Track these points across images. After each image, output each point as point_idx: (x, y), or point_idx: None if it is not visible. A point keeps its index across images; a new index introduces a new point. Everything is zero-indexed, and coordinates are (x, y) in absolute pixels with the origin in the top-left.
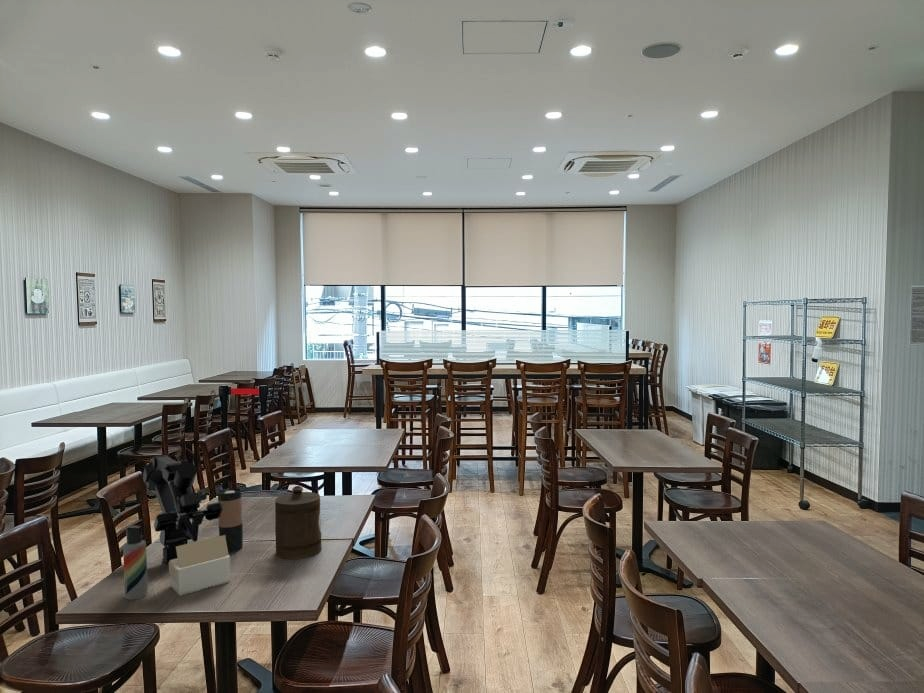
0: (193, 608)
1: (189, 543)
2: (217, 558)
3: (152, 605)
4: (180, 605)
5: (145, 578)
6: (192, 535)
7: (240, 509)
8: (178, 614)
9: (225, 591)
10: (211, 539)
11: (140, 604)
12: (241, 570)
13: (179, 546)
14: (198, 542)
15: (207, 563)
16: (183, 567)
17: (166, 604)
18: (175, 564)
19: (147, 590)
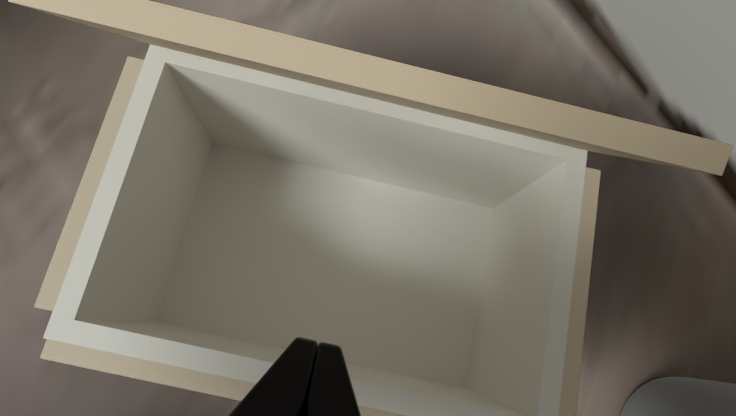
0: (520, 7)
1: (554, 102)
2: (118, 320)
3: (650, 218)
4: (549, 91)
5: (725, 403)
6: (352, 409)
7: None
8: (595, 11)
9: (307, 39)
10: (238, 24)
11: (692, 290)
12: (30, 233)
13: (685, 136)
14: (425, 73)
15: (348, 93)
16: (416, 385)
17: (594, 165)
18: (557, 293)
19: (637, 406)
